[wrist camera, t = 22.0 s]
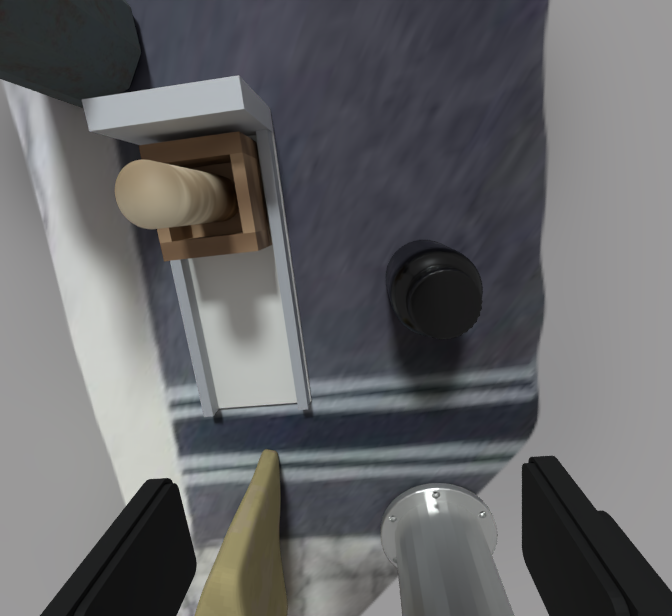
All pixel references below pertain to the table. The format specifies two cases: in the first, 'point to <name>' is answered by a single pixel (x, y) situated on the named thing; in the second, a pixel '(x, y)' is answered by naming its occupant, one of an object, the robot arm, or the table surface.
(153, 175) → the dowel
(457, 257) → the supplement bottle
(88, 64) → the bottle
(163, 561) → the robot arm
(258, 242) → the brown wooden open box
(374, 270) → the table surface
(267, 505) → the cheese
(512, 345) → the table surface
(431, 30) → the table surface
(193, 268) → the track
